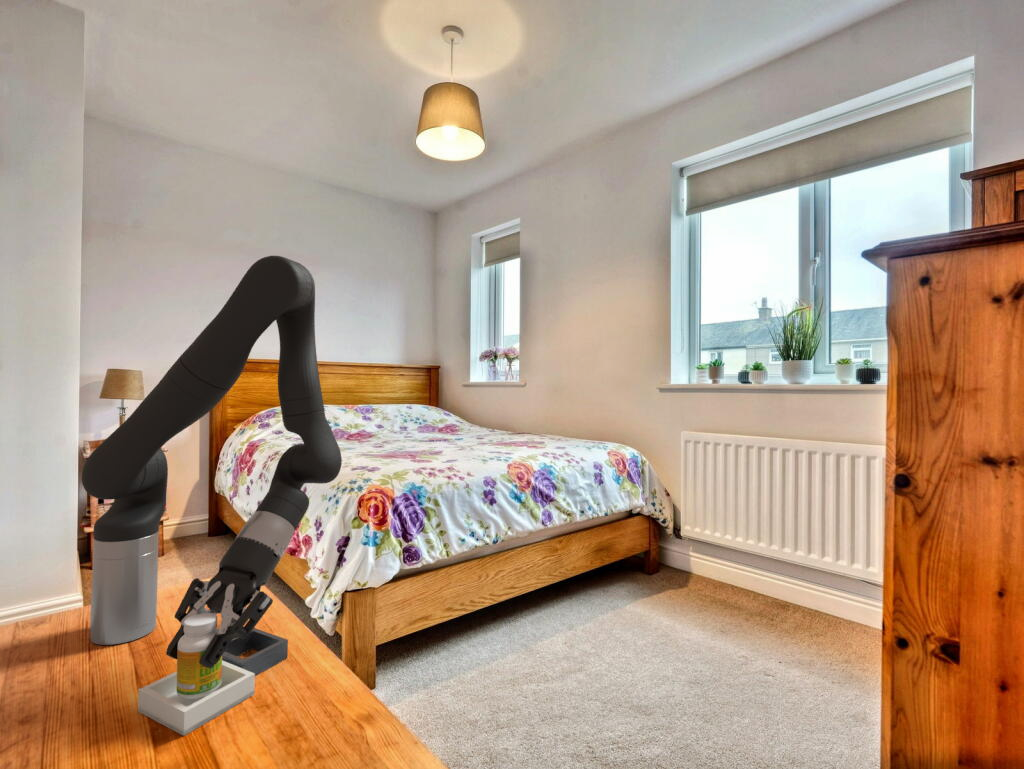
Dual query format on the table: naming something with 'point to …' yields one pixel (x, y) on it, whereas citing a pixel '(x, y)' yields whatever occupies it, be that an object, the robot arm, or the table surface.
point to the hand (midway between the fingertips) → (188, 661)
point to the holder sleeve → (267, 645)
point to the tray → (194, 700)
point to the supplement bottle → (197, 658)
